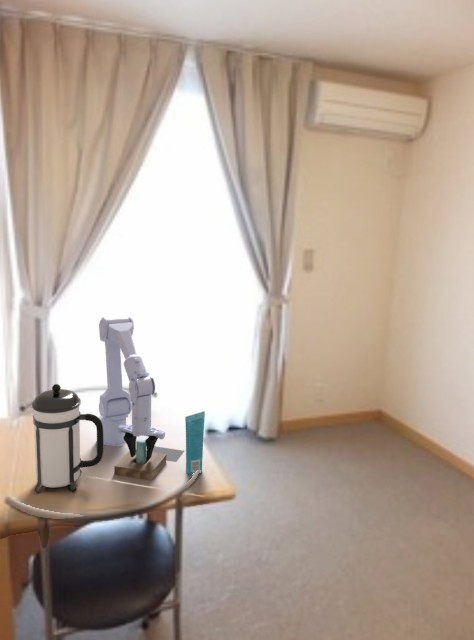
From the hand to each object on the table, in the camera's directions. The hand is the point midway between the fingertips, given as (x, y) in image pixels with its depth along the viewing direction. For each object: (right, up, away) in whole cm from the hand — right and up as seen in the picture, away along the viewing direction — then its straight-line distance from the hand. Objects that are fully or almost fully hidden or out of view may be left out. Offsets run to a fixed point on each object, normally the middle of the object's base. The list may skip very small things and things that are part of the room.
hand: (141, 456), depth 156 cm
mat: (+5, -2, +11) cm, 12 cm away
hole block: (0, -4, +1) cm, 4 cm away
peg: (0, -4, +1) cm, 4 cm away
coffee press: (-21, -5, -9) cm, 23 cm away
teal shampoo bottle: (+16, -5, 0) cm, 17 cm away
